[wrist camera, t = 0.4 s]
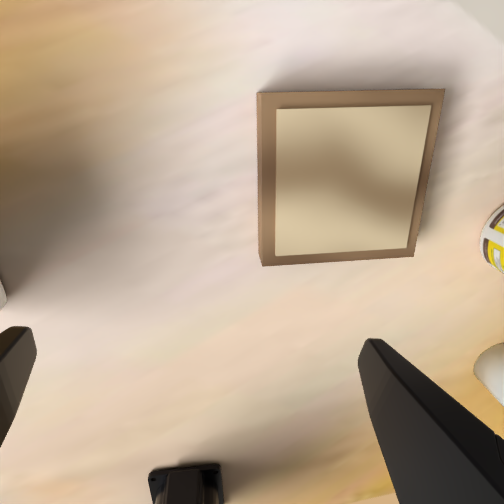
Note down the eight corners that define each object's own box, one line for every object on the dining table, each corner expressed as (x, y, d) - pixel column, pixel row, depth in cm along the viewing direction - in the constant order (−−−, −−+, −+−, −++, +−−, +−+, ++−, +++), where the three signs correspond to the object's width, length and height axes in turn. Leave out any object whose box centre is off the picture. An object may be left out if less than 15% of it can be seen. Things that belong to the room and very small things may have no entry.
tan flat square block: (398, 244, 25) (415, 258, 23) (258, 253, 24) (263, 268, 22) (424, 89, 21) (448, 88, 19) (256, 92, 20) (262, 92, 18)
